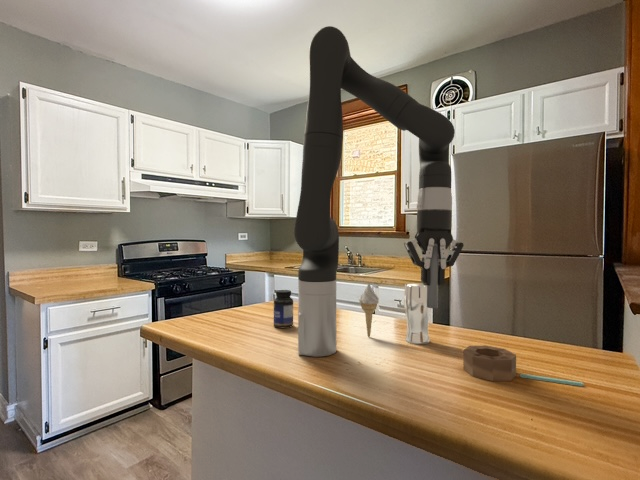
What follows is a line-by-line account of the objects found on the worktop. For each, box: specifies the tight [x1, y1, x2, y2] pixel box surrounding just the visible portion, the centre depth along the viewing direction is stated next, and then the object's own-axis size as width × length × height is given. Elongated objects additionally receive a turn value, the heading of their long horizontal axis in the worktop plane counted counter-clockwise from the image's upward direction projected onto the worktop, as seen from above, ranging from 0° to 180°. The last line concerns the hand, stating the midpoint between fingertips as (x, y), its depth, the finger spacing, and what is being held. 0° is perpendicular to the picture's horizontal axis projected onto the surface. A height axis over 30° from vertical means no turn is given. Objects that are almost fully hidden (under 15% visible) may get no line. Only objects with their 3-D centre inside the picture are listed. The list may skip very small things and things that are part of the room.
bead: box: [462, 344, 517, 382], centre depth 71 cm, size 9×9×4 cm
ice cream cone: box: [358, 282, 380, 338], centre depth 96 cm, size 6×6×15 cm
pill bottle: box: [273, 289, 294, 328], centre depth 109 cm, size 6×6×11 cm
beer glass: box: [403, 282, 432, 346], centre depth 92 cm, size 7×7×15 cm
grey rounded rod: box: [427, 244, 439, 309], centre depth 79 cm, size 2×2×15 cm
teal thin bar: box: [519, 373, 584, 387], centre depth 66 cm, size 10×1×1 cm, turn 64°
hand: (432, 284), depth 79 cm, fingers closed on grey rounded rod, 2 cm apart
